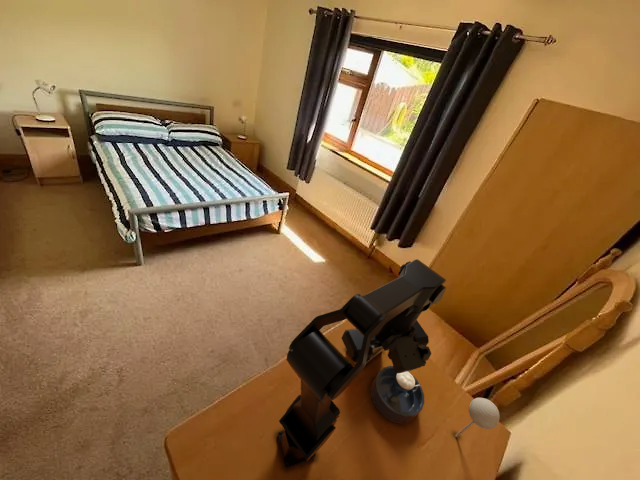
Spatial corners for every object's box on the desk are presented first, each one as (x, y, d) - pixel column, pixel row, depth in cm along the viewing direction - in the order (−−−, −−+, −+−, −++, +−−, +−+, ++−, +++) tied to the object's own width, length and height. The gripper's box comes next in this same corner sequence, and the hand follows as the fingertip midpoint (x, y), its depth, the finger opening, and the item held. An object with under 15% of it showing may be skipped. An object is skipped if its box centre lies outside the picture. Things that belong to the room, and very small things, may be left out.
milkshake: (399, 412, 74) (417, 391, 68) (381, 396, 76) (396, 374, 70) (407, 398, 77) (424, 377, 71) (389, 383, 79) (404, 362, 73)
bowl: (385, 431, 70) (392, 422, 67) (361, 381, 79) (367, 371, 76) (426, 416, 75) (434, 407, 73) (399, 370, 84) (406, 361, 81)
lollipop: (470, 454, 70) (509, 426, 62) (446, 445, 71) (481, 416, 62) (465, 426, 76) (501, 397, 67) (442, 418, 76) (475, 388, 67)
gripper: (380, 362, 51) (351, 407, 59) (461, 344, 58) (425, 386, 67) (352, 309, 58) (330, 356, 67) (427, 299, 66) (398, 342, 75)
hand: (372, 361), depth 69 cm, fingers open, 9 cm apart
